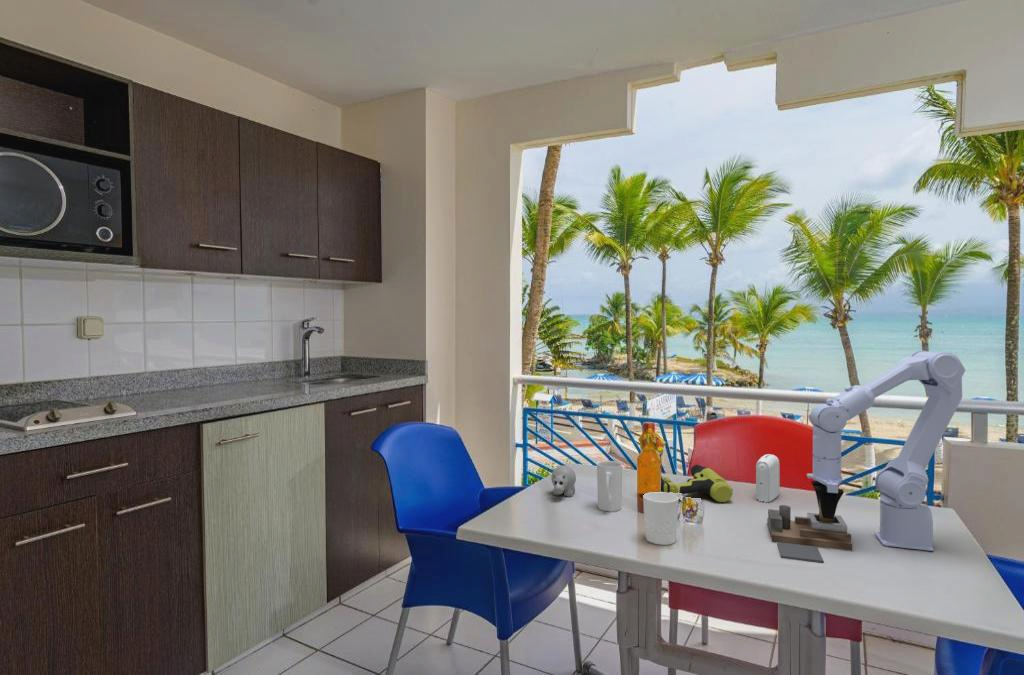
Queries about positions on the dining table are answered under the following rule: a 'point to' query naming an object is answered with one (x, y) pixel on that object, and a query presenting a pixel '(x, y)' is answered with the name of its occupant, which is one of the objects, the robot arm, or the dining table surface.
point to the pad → (799, 552)
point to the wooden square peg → (822, 516)
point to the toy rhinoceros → (563, 481)
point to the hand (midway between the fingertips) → (826, 515)
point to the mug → (609, 485)
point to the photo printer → (767, 478)
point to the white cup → (660, 517)
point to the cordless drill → (700, 484)
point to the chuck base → (803, 531)
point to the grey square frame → (826, 524)
